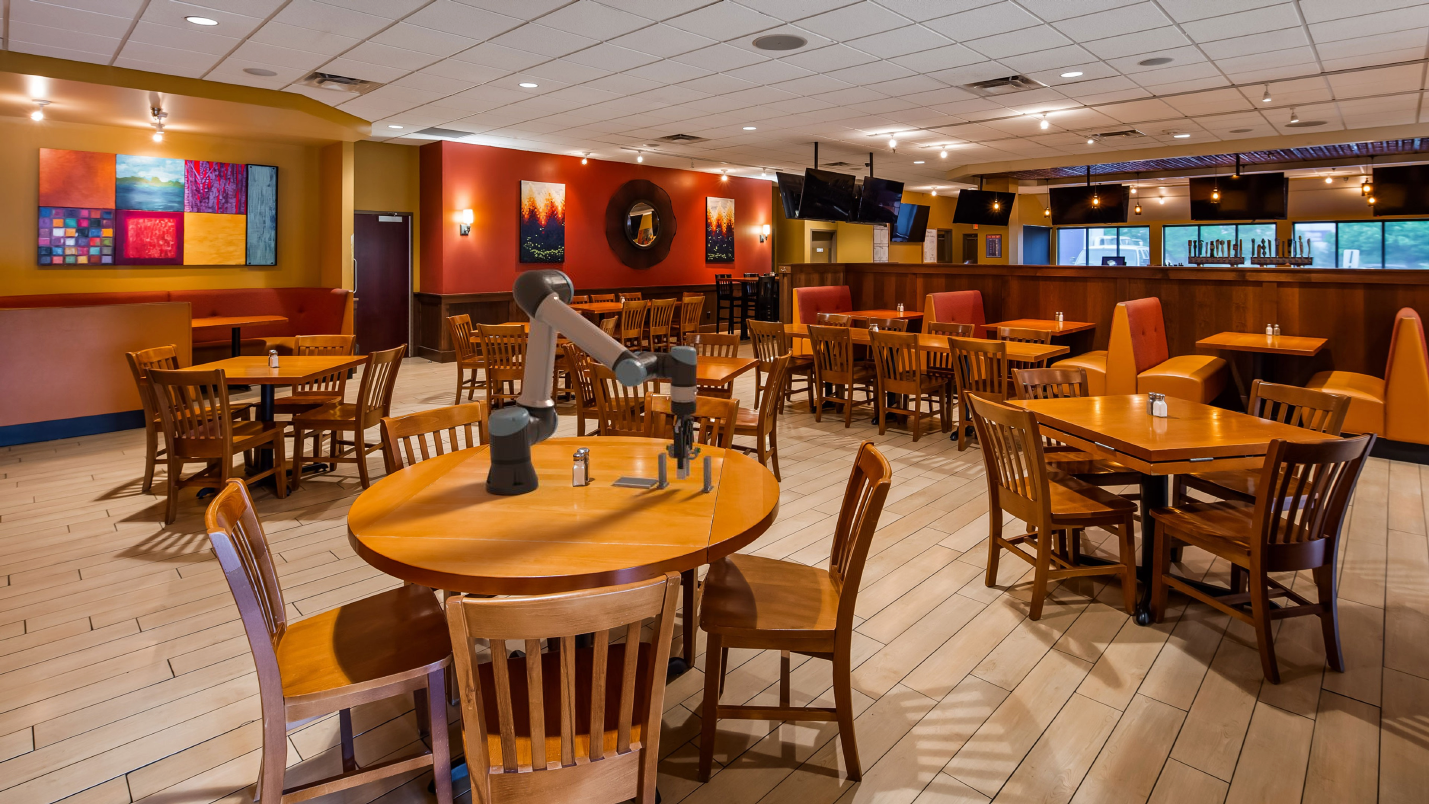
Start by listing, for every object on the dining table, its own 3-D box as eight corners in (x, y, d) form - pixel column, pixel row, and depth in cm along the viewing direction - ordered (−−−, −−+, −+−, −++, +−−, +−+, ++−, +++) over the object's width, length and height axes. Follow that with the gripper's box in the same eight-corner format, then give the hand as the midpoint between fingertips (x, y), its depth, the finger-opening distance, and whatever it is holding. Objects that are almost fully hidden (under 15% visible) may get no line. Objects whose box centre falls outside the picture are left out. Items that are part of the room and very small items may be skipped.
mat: (612, 485, 234) (612, 483, 234) (622, 478, 242) (622, 476, 242) (649, 488, 231) (649, 486, 231) (659, 480, 238) (659, 478, 238)
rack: (656, 488, 231) (655, 455, 229) (661, 483, 236) (661, 451, 234) (709, 492, 226) (708, 459, 224) (713, 487, 231) (713, 455, 229)
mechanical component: (698, 481, 228) (698, 448, 226) (665, 478, 230) (665, 445, 228) (701, 478, 231) (701, 445, 229) (668, 475, 233) (668, 443, 231)
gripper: (687, 405, 217) (687, 486, 222) (703, 395, 232) (703, 471, 237) (662, 403, 219) (662, 483, 224) (680, 394, 234) (679, 469, 239)
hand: (683, 477), depth 230 cm, fingers closed on mechanical component, 3 cm apart
